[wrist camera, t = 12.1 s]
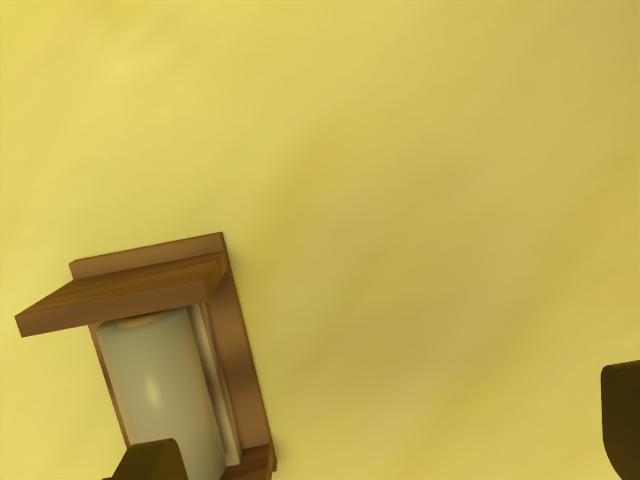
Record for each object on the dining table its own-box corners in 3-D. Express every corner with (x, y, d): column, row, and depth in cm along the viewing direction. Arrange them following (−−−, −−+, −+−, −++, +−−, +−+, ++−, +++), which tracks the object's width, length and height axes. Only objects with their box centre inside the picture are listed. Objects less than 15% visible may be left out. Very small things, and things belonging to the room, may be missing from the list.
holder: (75, 260, 31) (7, 296, 24) (222, 231, 31) (198, 259, 24) (146, 487, 35) (106, 578, 28) (276, 461, 35) (270, 546, 28)
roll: (119, 308, 31) (77, 342, 26) (195, 294, 30) (169, 326, 25) (162, 454, 33) (131, 512, 28) (233, 443, 33) (216, 499, 28)
